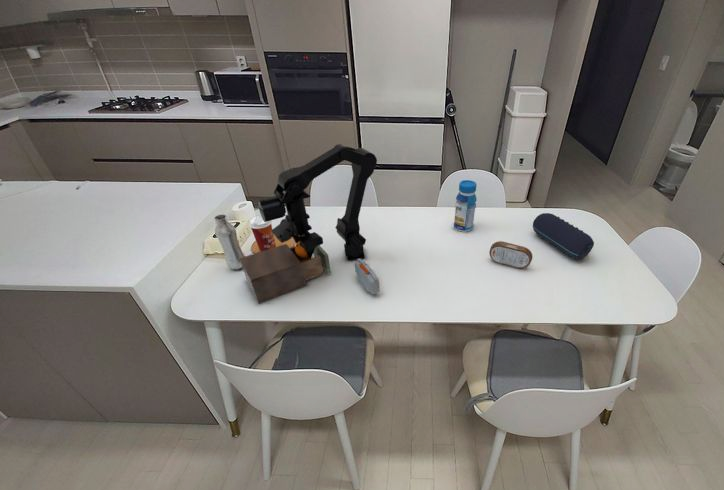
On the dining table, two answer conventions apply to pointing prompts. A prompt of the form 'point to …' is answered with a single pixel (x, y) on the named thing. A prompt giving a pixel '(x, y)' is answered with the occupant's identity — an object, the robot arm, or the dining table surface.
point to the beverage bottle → (465, 206)
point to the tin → (510, 254)
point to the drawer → (314, 263)
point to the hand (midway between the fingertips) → (305, 253)
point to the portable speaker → (563, 235)
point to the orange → (300, 251)
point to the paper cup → (262, 233)
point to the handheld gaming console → (367, 276)
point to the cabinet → (273, 272)
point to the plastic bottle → (228, 241)
